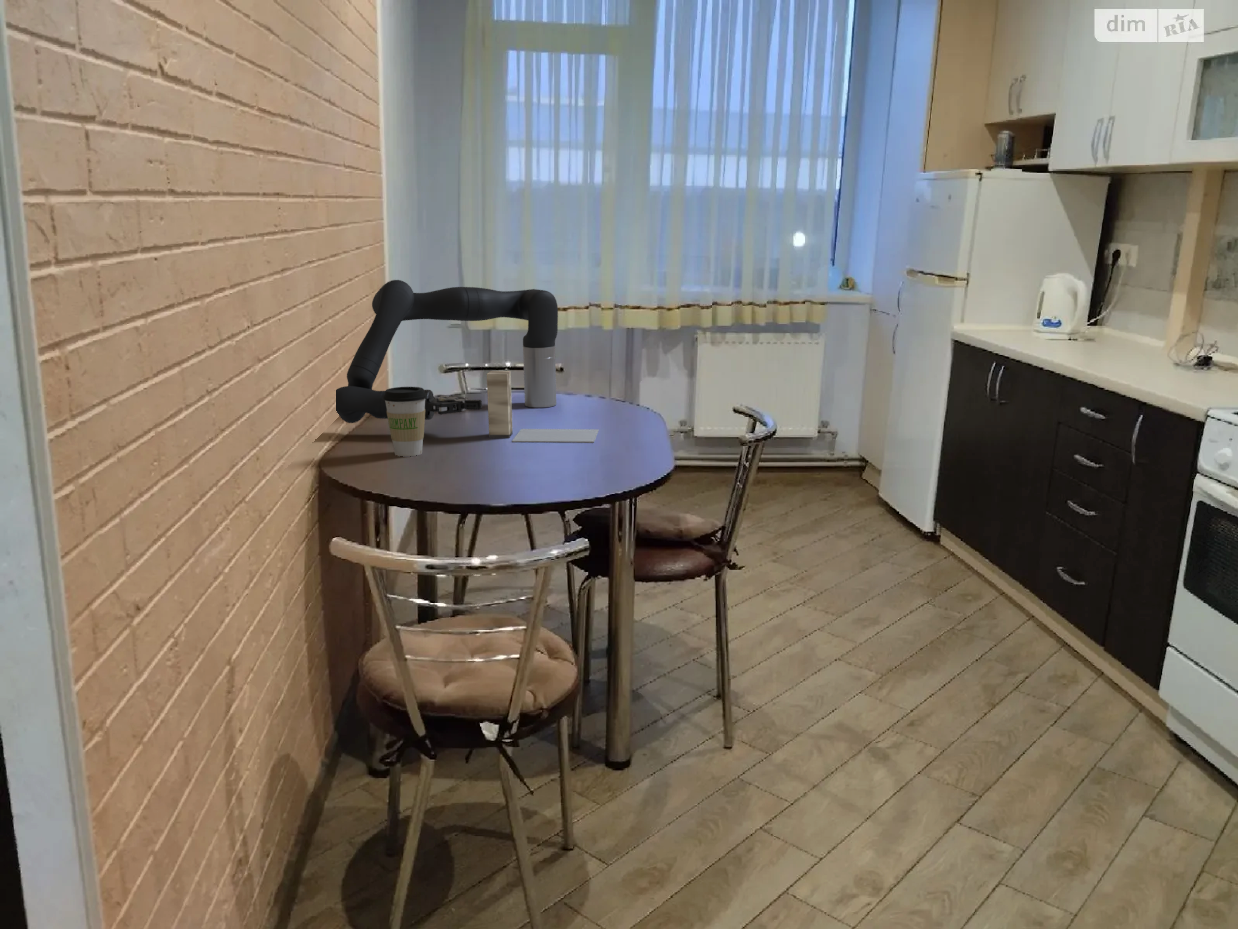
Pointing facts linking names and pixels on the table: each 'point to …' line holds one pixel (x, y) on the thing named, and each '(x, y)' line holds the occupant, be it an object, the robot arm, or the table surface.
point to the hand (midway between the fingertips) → (481, 404)
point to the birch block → (499, 404)
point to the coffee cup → (406, 419)
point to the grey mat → (556, 435)
